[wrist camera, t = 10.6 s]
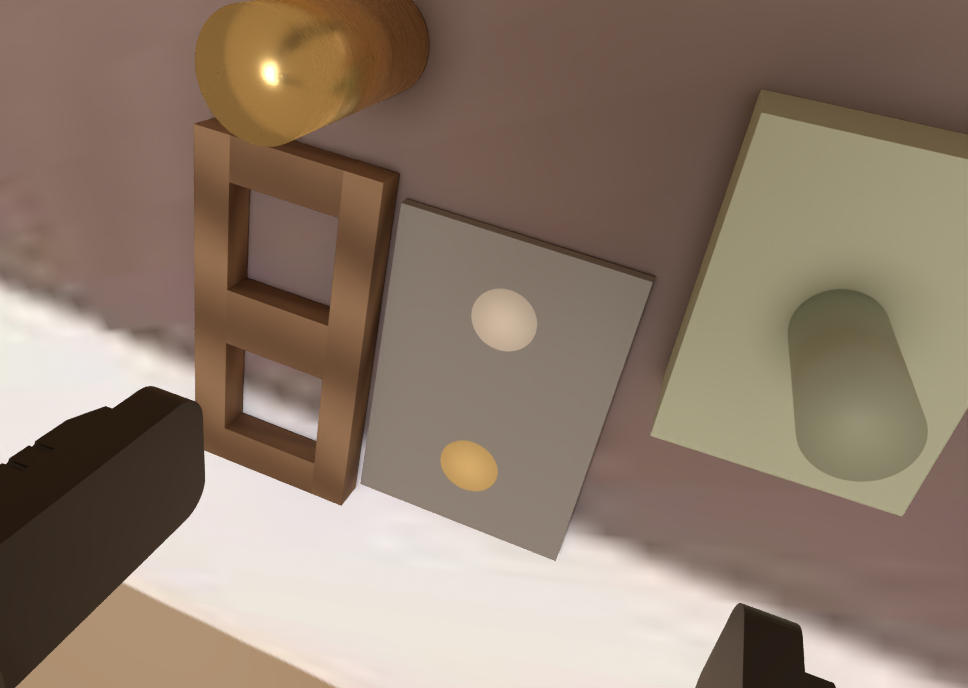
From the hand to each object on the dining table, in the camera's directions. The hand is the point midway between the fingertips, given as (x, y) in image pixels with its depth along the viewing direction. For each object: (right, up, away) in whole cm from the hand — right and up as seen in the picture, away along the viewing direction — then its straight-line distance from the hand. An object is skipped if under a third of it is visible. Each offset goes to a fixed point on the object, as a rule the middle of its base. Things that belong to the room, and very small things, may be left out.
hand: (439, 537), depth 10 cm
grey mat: (+1, 0, +24) cm, 24 cm away
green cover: (+14, +5, +18) cm, 23 cm away
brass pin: (-3, +15, +19) cm, 24 cm away
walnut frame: (-9, +4, +26) cm, 28 cm away
